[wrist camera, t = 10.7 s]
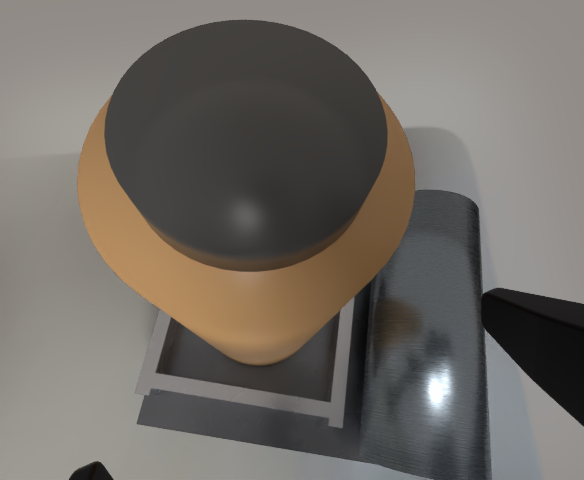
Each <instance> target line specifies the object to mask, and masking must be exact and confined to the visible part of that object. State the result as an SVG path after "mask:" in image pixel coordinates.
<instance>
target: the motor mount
mask: <svg viewBox="0 0 584 480" xmlns="http://www.w3.org/2000/svg"><path fill="white" fill-rule="evenodd" d="M482 295H483V284H482V263H481V242H480V221H479V208H478V206H477V205H476V204H475V203H474V202H473V201H472V200H471V199H469V198H467V197H465V196H463V195H460V194H457V193H453V192H448V191H441V190H417V191H415V194H414V202H413V209H412V212H411V216H410V219H409V223H408V226H407V229H406V231H405V233H404V235H403V237H402V239H401V241H400V243H399V246H398V247H397V249H396V250H395V252H394V253H393V255H392V256H391V258H390V259H389V261H388V262H387V263H386V264H385V266H384V267H383V268H382V269H381V270H380V271H379V272H378V273H377V274H376V275H375V277H374V278H373V279H372V280H371V281H370V282H369V283H368V284H367V285H366V286H365V287H363V288H362V289H361V290H360V291H359V292H358V293H357V294H356V295H355V296H354V297H353V298H352V299H351V300H350V301H349V302H348V303H347V304H346V305H345V306H344V307H343V308H342V309H341V310H340V311H339V312H338V313H337V314H336V315H335V316H333V317H332V318H331V319H330V320H329V321H328V322H327V323H326V324H325V325H324V326H323V327H322V328H321V329H320V330H319V331H318V332H317V333H316V334H315V335H314V336H313V337H312V338H311V339H310V340H309V341H308V342H307V343H306V344H304V345H303V346H302V347H301V348H300V349H299V350H298V351H297V352H296V353H295V354H293V355H292V356H291V357H289V358H288V359H286V360H284V361H282V362H280V363H277V364H273V365H269V366H248V365H244V364H241V363H238V362H236V361H234V360H232V359H230V358H229V357H227V356H226V355H224V354H223V353H221V352H220V351H219V350H217V349H216V348H214V347H213V346H212V345H210V344H209V343H207V342H206V341H205V340H203V339H202V338H200V337H199V336H198V335H196V334H195V333H193V332H192V331H190V330H189V329H188V328H186V327H185V326H183V325H182V324H181V323H179V322H178V321H176V320H175V319H174V318H172V317H171V316H169V315H168V314H167V313H165V312H164V311H162V310H161V309H160V310H159V313H158V316H157V320H156V323H155V326H154V330H153V333H152V336H151V340H150V343H149V346H148V350H147V353H146V357H145V360H144V363H143V367H142V370H141V373H140V377H139V380H138V383H137V387H136V390H135V393H136V394H142V395H145V396H144V400H143V403H142V407H141V410H140V414H139V417H138V421H137V424H140V425H146V426H152V427H158V428H163V429H169V430H175V431H181V432H187V433H193V434H199V435H205V436H211V437H217V438H223V439H229V440H235V441H241V442H247V443H253V444H259V445H265V446H271V447H277V448H283V449H289V450H295V451H301V452H307V453H313V454H318V455H324V456H330V457H336V458H342V459H348V460H354V461H360V462H366V463H372V464H378V465H381V466H384V467H387V468H390V469H393V470H397V471H401V472H404V473H408V474H412V475H416V476H420V477H425V478H429V479H434V480H492V472H491V451H490V430H489V409H488V388H487V367H486V346H485V328H484V327H483V325H482V322H481V297H482Z"/></svg>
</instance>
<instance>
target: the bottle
mask: <svg viewBox="0 0 584 480" xmlns="http://www.w3.org/2000/svg"><path fill="white" fill-rule="evenodd" d="M77 185H78V197H79V205H80V209H81V213H82V217H83V221H84V224H85V226H86V228H87V231H88V233H89V235H90V238H91V240H92V242H93V244H94V245H95V247H96V249H97V250H98V252H99V253H100V255H101V256H102V258H103V259H104V261H105V262H106V263H107V264H108V265H109V267H110V268H111V269H112V270H113V271H114V272H115V273H116V274H117V276H118V277H119V278H120V279H121V280H123V281H124V282H125V283H126V284H127V285H129V286H130V287H131V288H132V289H134V290H135V291H136V292H137V293H138V294H140V295H141V296H143V297H144V298H145V299H147V300H148V301H150V302H151V303H152V304H154V305H155V306H157V307H158V308H159V309H161V310H162V311H164V312H165V313H167V314H168V315H169V316H171V317H172V318H174V319H175V320H176V321H178V322H179V323H181V324H182V325H183V326H185V327H186V328H188V329H189V330H190V331H192V332H193V333H195V334H196V335H198V336H199V337H200V338H202V339H203V340H205V341H206V342H207V343H209V344H210V345H212V346H213V347H214V348H216V349H217V350H219V351H220V352H221V353H223V354H224V355H226V356H227V357H229V358H230V359H232V360H234V361H236V362H238V363H241V364H244V365H248V366H269V365H273V364H277V363H280V362H282V361H284V360H286V359H288V358H289V357H291V356H292V355H293V354H295V353H296V352H297V351H298V350H299V349H300V348H301V347H302V346H303V345H304V344H306V343H307V342H308V341H309V340H310V339H311V338H312V337H313V336H314V335H315V334H316V333H317V332H318V331H319V330H320V329H321V328H322V327H323V326H324V325H325V324H326V323H327V322H328V321H329V320H330V319H331V318H332V317H333V316H335V315H336V314H337V313H338V312H339V311H340V310H341V309H342V308H343V307H344V306H345V305H346V304H347V303H348V302H349V301H350V300H351V299H352V298H353V297H354V296H355V295H356V294H357V293H358V292H359V291H360V290H361V289H362V288H363V287H365V286H366V285H367V284H368V283H369V282H370V281H371V280H372V279H373V278H374V277H375V275H376V274H377V273H378V272H379V271H380V270H381V269H382V268H383V267H384V266H385V264H386V263H387V262H388V261H389V259H390V258H391V256H392V255H393V253H394V252H395V250H396V249H397V247H398V246H399V243H400V241H401V239H402V237H403V235H404V233H405V231H406V229H407V226H408V223H409V219H410V216H411V212H412V209H413V202H414V194H415V170H414V164H413V158H412V153H411V150H410V147H409V144H408V141H407V137H406V135H405V133H404V131H403V129H402V127H401V125H400V123H399V121H398V119H397V118H396V116H395V114H394V113H393V111H392V110H391V108H390V107H389V106H388V104H387V103H386V102H385V101H384V99H383V98H382V97H381V96H380V95H379V94H378V92H377V91H376V89H375V88H374V86H373V84H372V83H371V81H370V80H369V78H368V77H367V75H366V74H365V73H364V72H363V71H362V69H361V68H360V67H359V66H358V65H357V64H356V63H355V62H354V61H353V60H352V59H351V58H350V57H349V56H348V55H346V54H345V53H344V52H342V51H341V50H339V49H338V48H337V47H336V46H334V45H332V44H331V43H329V42H327V41H325V40H324V39H322V38H320V37H318V36H316V35H313V34H311V33H309V32H307V31H304V30H301V29H297V28H295V27H291V26H288V25H283V24H279V23H273V22H267V21H258V20H229V21H221V22H214V23H209V24H205V25H200V26H197V27H194V28H191V29H188V30H185V31H182V32H180V33H178V34H176V35H173V36H171V37H169V38H167V39H165V40H164V41H162V42H160V43H159V44H157V45H155V46H154V47H152V48H151V49H150V50H149V51H147V52H146V53H144V54H143V55H142V56H141V57H140V58H139V59H138V60H137V61H136V62H135V63H134V64H133V65H132V66H131V67H130V68H129V69H128V70H127V72H126V73H125V74H124V76H123V77H122V78H121V80H120V82H119V83H118V85H117V87H116V89H115V90H114V92H113V95H112V96H111V97H110V98H109V100H108V101H107V102H106V104H105V105H104V106H103V107H102V109H101V110H100V112H99V113H98V115H97V117H96V118H95V120H94V122H93V123H92V125H91V127H90V130H89V132H88V134H87V137H86V139H85V142H84V144H83V148H82V152H81V156H80V160H79V168H78V180H77Z"/></svg>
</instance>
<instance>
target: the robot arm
mask: <svg viewBox="0 0 584 480" xmlns="http://www.w3.org/2000/svg"><path fill="white" fill-rule="evenodd" d="M481 322H482V325H483V327H484V328H485V330H486V331H487V332H488V333H489V334H490V335H491V336H492V337H493V338H494V339H495V341H496V342H497V343H498V344H499V345H500V346H501V347H502V348H503V349H504V350H505V351H506V352H507V353H508V355H509V356H510V357H511V358H512V359H513V360H514V361H515V362H516V363H517V364H518V365H519V366H520V367H521V369H522V370H523V371H524V372H525V373H526V374H527V375H528V376H529V377H530V378H531V379H532V380H533V381H534V382H535V383H536V384H538V385H539V386H540V387H541V388H542V389H543V390H544V391H545V392H546V393H547V394H548V395H549V396H550V397H552V398H553V399H554V400H555V401H556V402H557V403H558V404H559V405H560V406H562V407H563V408H564V409H565V410H566V411H567V412H568V413H569V414H570V415H571V416H573V417H574V418H575V419H576V420H577V421H578V422H579V423H580V424H581V425H582V426H584V304H581V303H576V302H571V301H566V300H561V299H555V298H550V297H545V296H540V295H535V294H529V293H524V292H519V291H514V290H509V289H504V288H495V289H492V290H490V291H488V292H485V293H484V294H483V295H482V297H481ZM69 480H113V478H112V477H111V475H110V474H109V472H108V471H107V470H106V468H105V467H104V465H103V464H102V463H101V462H98V461H96V462H93V463H90V464H88V465H86V466H83V467H81V468H79V469H77V470H76V471H75V472H74V473H73V474H72V475H71V477H70V478H69Z"/></svg>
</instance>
